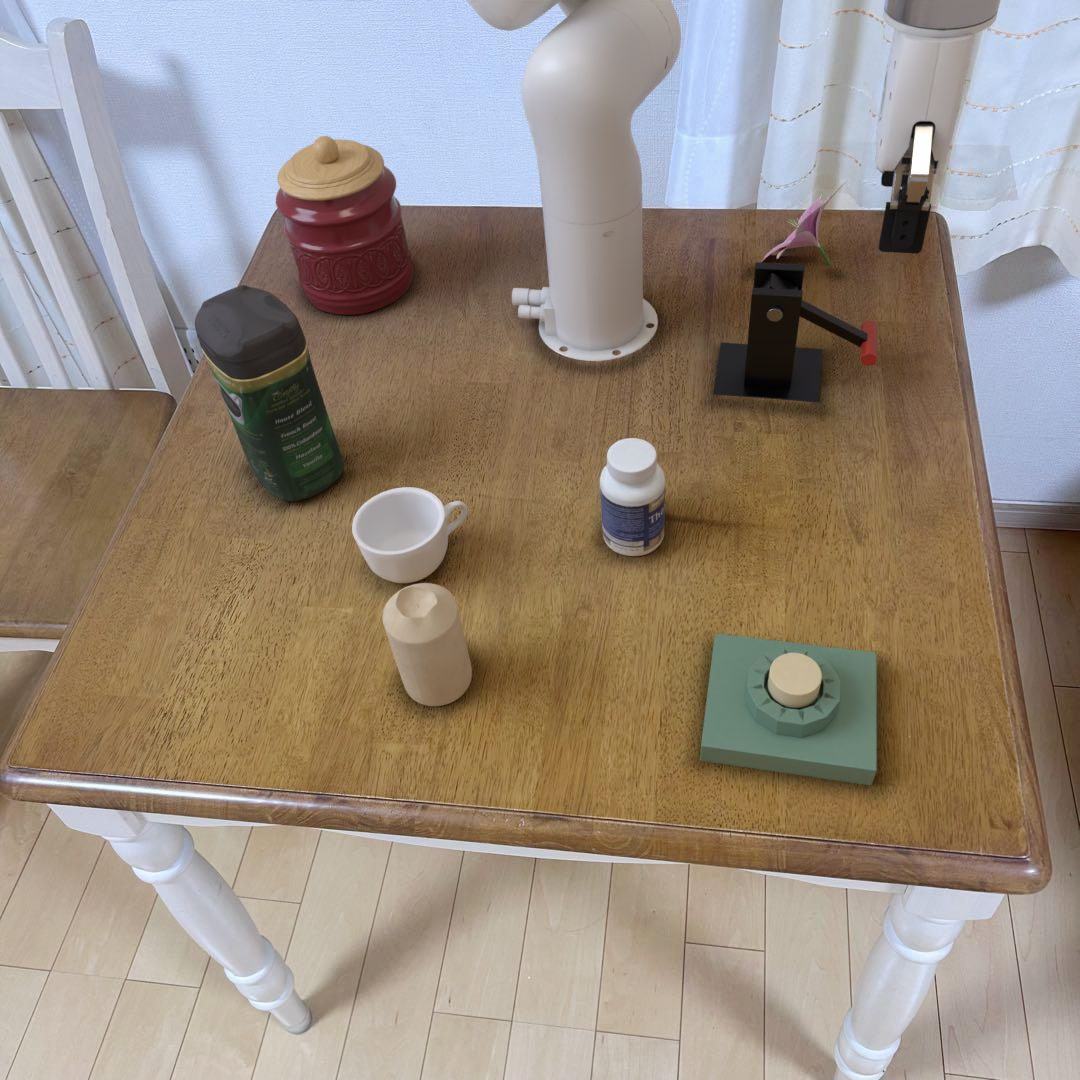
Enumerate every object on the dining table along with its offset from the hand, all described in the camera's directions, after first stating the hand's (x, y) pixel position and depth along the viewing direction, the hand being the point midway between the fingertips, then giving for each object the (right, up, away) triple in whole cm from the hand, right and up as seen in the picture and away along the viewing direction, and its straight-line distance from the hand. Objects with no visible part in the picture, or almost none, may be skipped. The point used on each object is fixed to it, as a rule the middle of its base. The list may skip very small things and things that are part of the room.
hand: (899, 216), depth 83 cm
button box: (-11, -39, -7) cm, 41 cm away
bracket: (-7, -10, +18) cm, 22 cm away
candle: (-37, -37, -2) cm, 53 cm away
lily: (-1, +4, +31) cm, 31 cm away
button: (-11, -37, -10) cm, 40 cm away
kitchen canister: (-50, +3, +35) cm, 61 cm away
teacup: (-40, -28, +7) cm, 49 cm away
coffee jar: (-52, -20, +15) cm, 58 cm away
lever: (-4, -6, +12) cm, 14 cm away
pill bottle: (-21, -26, +6) cm, 34 cm away
